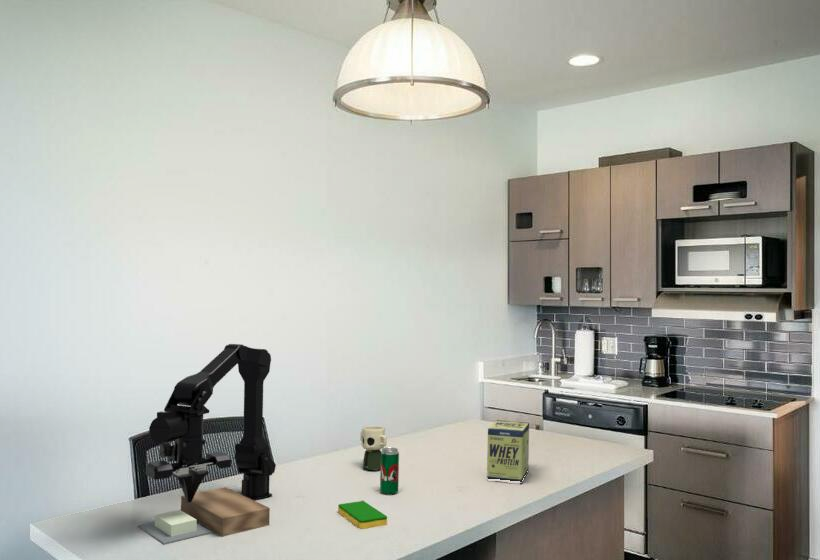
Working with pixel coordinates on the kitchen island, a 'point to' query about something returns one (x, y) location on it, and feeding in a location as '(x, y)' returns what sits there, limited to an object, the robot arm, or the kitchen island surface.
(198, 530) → the slate mat
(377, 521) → the dish sponge
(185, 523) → the sage tile
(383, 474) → the soda can
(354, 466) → the kitchen island surface
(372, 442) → the character mug
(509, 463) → the protein box
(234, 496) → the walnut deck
